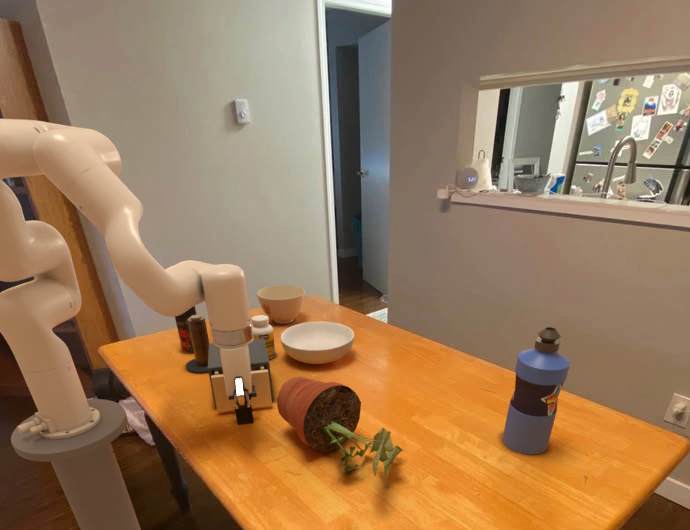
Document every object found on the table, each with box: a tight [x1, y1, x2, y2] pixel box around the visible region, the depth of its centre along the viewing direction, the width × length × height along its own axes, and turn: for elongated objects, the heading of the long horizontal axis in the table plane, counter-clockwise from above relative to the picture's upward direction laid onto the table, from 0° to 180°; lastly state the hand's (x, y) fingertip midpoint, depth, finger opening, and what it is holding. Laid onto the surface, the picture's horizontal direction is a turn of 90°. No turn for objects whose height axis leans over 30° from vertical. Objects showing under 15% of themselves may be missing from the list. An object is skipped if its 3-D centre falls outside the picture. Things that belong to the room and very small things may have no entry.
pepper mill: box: [187, 314, 210, 367], centre depth 124 cm, size 4×4×14 cm
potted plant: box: [276, 376, 404, 481], centre depth 88 cm, size 16×15×35 cm
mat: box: [185, 358, 209, 374], centre depth 128 cm, size 10×10×1 cm
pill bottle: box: [251, 314, 276, 360], centre depth 130 cm, size 6×6×12 cm
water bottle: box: [502, 326, 571, 456], centre depth 90 cm, size 9×9×25 cm
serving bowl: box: [280, 320, 355, 365], centre depth 132 cm, size 21×21×7 cm
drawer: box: [211, 365, 273, 413], centre depth 108 cm, size 18×12×9 cm
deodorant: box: [174, 305, 198, 355], centre depth 134 cm, size 6×6×15 cm
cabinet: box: [208, 338, 274, 410], centre depth 113 cm, size 15×14×11 cm
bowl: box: [256, 284, 306, 325], centre depth 156 cm, size 16×16×10 cm
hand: (244, 411), depth 96 cm, fingers open, 9 cm apart
